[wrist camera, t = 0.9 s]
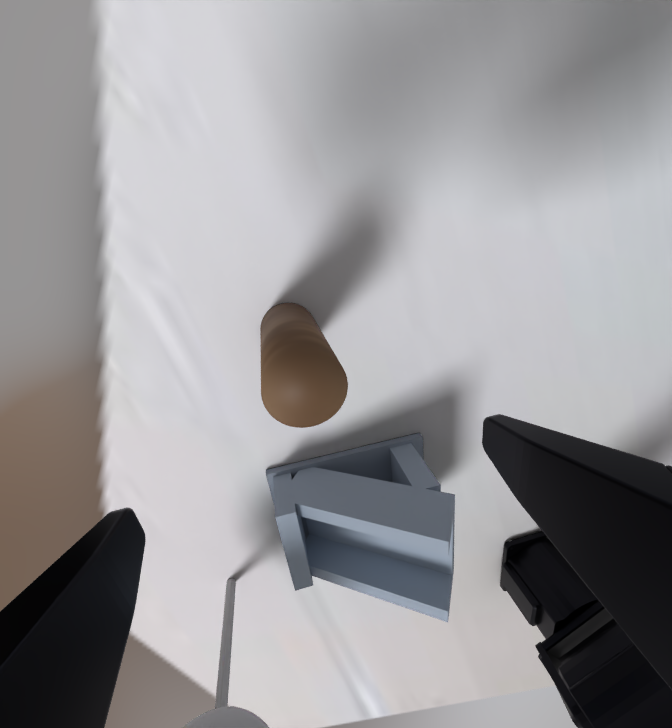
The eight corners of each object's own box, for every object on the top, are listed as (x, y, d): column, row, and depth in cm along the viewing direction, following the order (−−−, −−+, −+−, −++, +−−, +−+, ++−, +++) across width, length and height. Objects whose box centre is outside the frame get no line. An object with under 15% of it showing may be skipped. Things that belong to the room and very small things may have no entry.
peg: (311, 298, 19) (342, 341, 12) (319, 350, 21) (351, 417, 13) (254, 308, 19) (252, 359, 12) (266, 360, 20) (271, 435, 13)
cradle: (419, 432, 24) (491, 525, 17) (422, 505, 27) (484, 613, 20) (265, 470, 23) (269, 590, 15) (285, 543, 26) (296, 675, 18)
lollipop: (196, 541, 24) (114, 954, 10) (290, 553, 26) (324, 903, 13) (171, 610, 26) (72, 1034, 12) (260, 615, 28) (261, 976, 15)
